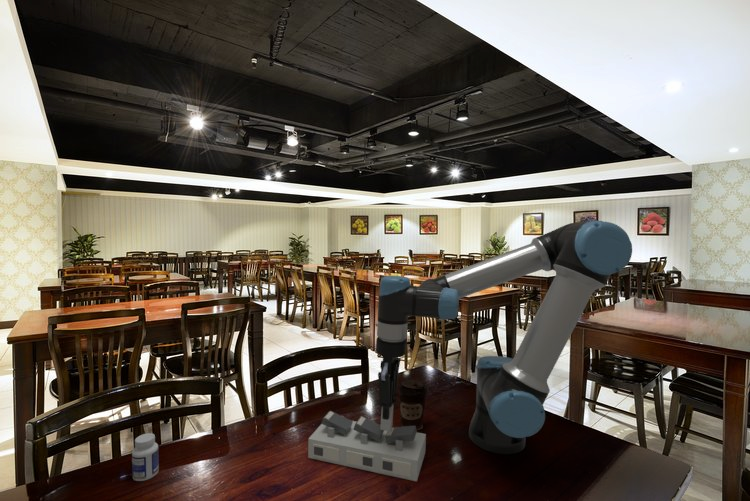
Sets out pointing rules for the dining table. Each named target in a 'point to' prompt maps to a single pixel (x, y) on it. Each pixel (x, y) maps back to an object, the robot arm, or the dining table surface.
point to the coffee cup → (412, 403)
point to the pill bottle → (145, 457)
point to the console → (368, 452)
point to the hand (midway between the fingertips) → (386, 428)
